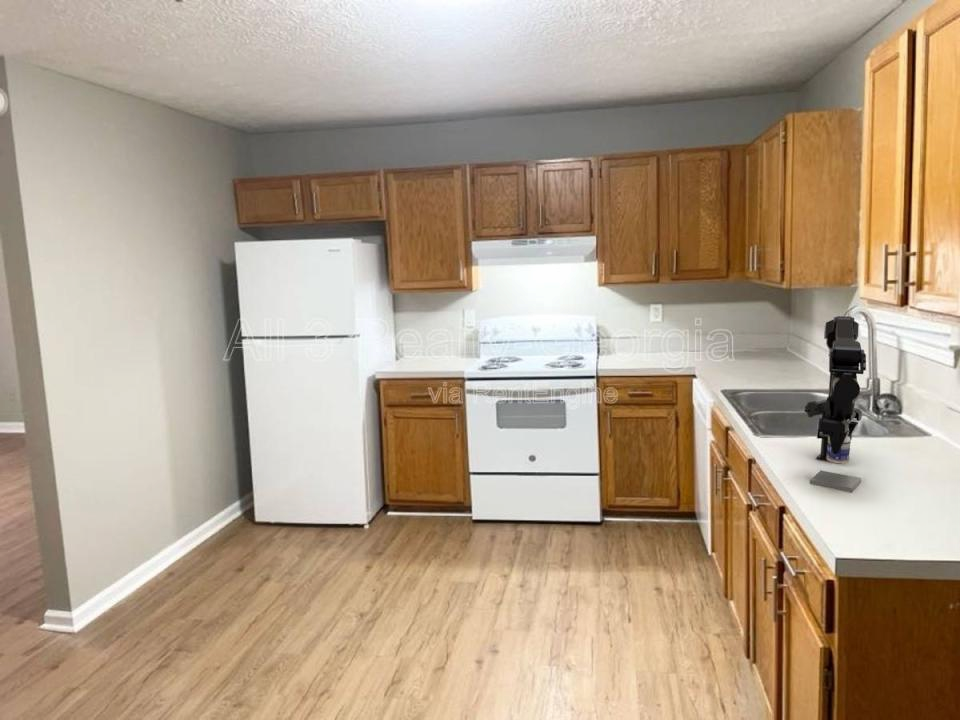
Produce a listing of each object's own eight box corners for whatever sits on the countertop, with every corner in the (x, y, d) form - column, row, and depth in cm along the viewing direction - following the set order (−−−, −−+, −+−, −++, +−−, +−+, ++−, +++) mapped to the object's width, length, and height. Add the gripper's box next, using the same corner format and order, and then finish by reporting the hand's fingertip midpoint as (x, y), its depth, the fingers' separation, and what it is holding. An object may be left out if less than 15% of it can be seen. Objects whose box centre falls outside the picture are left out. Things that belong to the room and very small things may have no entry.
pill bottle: (821, 458, 186) (824, 426, 185) (836, 456, 188) (839, 424, 186) (838, 464, 181) (841, 431, 180) (853, 462, 183) (856, 429, 182)
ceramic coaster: (820, 474, 193) (820, 470, 192) (860, 482, 186) (861, 478, 186) (809, 484, 185) (810, 479, 185) (851, 492, 179) (852, 488, 178)
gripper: (819, 382, 194) (815, 438, 196) (799, 394, 180) (794, 453, 182) (864, 388, 187) (859, 445, 189) (847, 400, 173) (841, 462, 175)
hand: (838, 451), depth 184 cm, fingers closed on pill bottle, 5 cm apart
